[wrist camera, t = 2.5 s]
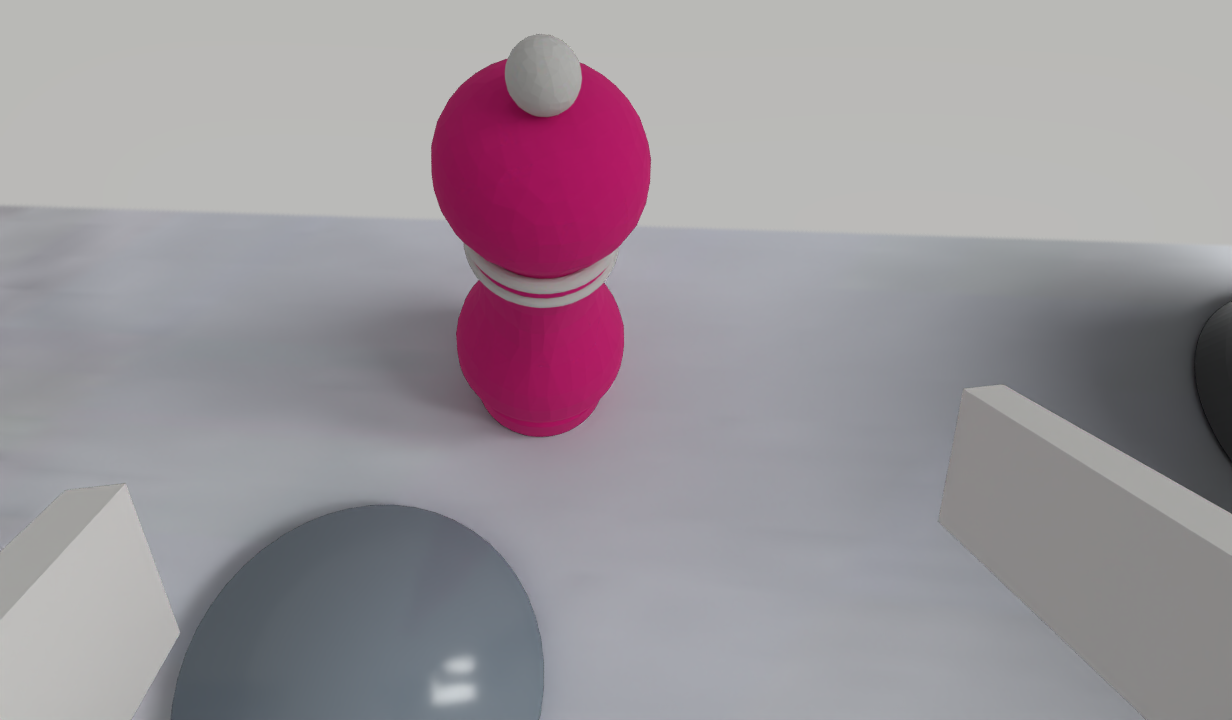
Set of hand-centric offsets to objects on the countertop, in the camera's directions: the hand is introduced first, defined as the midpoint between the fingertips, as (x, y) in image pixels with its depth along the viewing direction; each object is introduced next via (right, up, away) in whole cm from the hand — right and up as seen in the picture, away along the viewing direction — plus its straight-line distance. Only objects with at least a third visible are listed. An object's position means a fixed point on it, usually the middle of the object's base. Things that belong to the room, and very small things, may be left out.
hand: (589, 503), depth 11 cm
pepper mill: (-3, +1, +22) cm, 23 cm away
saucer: (-10, -11, +16) cm, 22 cm away
